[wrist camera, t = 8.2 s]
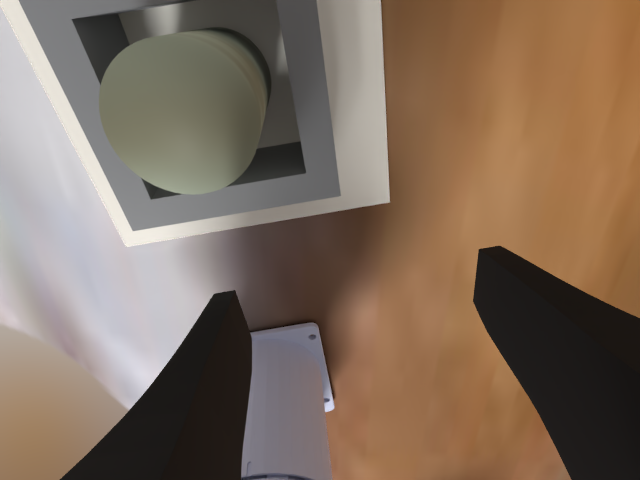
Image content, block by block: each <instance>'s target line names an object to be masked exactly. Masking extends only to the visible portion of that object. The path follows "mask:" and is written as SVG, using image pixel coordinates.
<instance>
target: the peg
mask: <svg viewBox="0 0 640 480" xmlns="http://www.w3.org/2000/svg"><path fill="white" fill-rule="evenodd" d="M270 94H271V75H270V70H269V67H268V64H267V62H266V60H265V58H264V56H263V54H262V53H261V51H260V50H259V49H258V47H257V46H256V45H255V44H254V43H253V42H252V41H251V40H250V39H248V38H247V37H246V36H244V35H242V34H241V33H239V32H237V31H234V30H232V29H228V28H223V27H210V28H204V29H198V30H192V31H186V32H180V33H174V34H167V35H161V36H156V37H150V38H145V39H143V40H140V41H137V42H135V43H133V44H131V45H130V46H128V47H126V48H125V49H124V50H122V51H121V52H120V53H119V54H118V55H117V56H116V57H115V58H114V59H113V60H112V62H111V63H110V65H109V66H108V68H107V70H106V72H105V74H104V76H103V79H102V82H101V86H100V91H99V113H100V118H101V123H102V126H103V129H104V132H105V134H106V136H107V139H108V141H109V143H110V144H111V146H112V148H113V149H114V151H115V152H116V154H117V155H118V156H119V158H120V159H121V160H122V161H123V162H124V163H125V164H126V165H127V166H128V168H130V169H131V170H132V171H133V172H134V173H135V174H137V175H138V176H139V177H141V178H142V179H144V180H145V181H147V182H149V183H151V184H153V185H154V186H157V187H159V188H162V189H164V190H167V191H171V192H175V193H180V194H191V195H194V194H205V193H210V192H214V191H217V190H220V189H222V188H224V187H226V186H228V185H229V184H231V183H233V182H234V181H235V180H236V179H238V178H239V177H240V176H241V175H242V174H243V173H244V172H245V170H246V169H247V168H248V166H249V165H250V163H251V162H252V159H253V157H254V155H255V153H256V149H257V146H258V142H259V138H260V134H261V130H262V126H263V122H264V119H265V115H266V111H267V107H268V103H269V99H270Z"/></svg>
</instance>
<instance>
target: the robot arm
mask: <svg viewBox="0 0 640 480" xmlns="http://www.w3.org/2000/svg"><path fill="white" fill-rule="evenodd" d="M473 302H474V304H475V306H476V309H477V311H478V313H479V315H480V318H481V320H482V322H483V324H484V326H485V328H486V330H487V332H488V334H489V335H490V337H491V338H492V340H493V342H494V343H495V345H496V346H497V348H498V350H499V351H500V353H501V354H502V356H503V357H504V359H505V361H506V362H507V364H508V365H509V367H510V368H511V370H512V371H513V373H514V375H515V376H516V378H517V379H518V381H519V382H520V384H521V386H522V387H523V389H524V390H525V392H526V393H527V395H528V396H529V398H530V400H531V401H532V403H533V405H534V407H535V408H536V410H537V412H538V413H539V415H540V417H541V419H542V421H543V423H544V425H545V427H546V429H547V431H548V433H549V435H550V437H551V439H552V441H553V443H554V445H555V446H556V448H557V450H558V453H559V455H560V457H561V459H562V461H563V463H564V465H565V467H566V469H567V471H568V473H569V475H570V477H571V479H572V480H640V318H638V317H636V316H633V315H631V314H629V313H626V312H624V311H622V310H620V309H618V308H615V307H613V306H611V305H609V304H607V303H605V302H603V301H601V300H599V299H597V298H595V297H593V296H591V295H589V294H587V293H585V292H583V291H581V290H579V289H577V288H575V287H574V286H572V285H570V284H568V283H566V282H564V281H562V280H561V279H559V278H557V277H555V276H553V275H552V274H550V273H548V272H546V271H544V270H543V269H541V268H539V267H537V266H536V265H534V264H532V263H530V262H529V261H527V260H525V259H523V258H522V257H520V256H518V255H516V254H514V253H513V252H511V251H509V250H507V249H505V248H503V247H501V246H495V247H489V248H483V249H479V253H478V262H477V271H476V280H475V289H474V298H473ZM311 334H314V335H311ZM333 409H334V401H333V396H332V391H331V386H330V381H329V376H328V371H327V367H326V362H325V357H324V352H323V347H322V342H321V338H320V333H319V328H318V325H317V324H316V323H304V324H298V325H292V326H287V327H281V328H275V329H269V330H263V331H257V332H251V333H250V331H249V328H248V326H247V323H246V320H245V317H244V314H243V311H242V309H241V306H240V303H239V300H238V297H237V294H236V292H235V290H234V291H228V292H222V293H216V294H214V295H213V297H212V298H211V299H210V301H209V303H208V304H207V306H206V307H205V309H204V310H203V312H202V313H201V315H200V317H199V318H198V320H197V321H196V323H195V324H194V326H193V327H192V329H191V330H190V332H189V333H188V335H187V336H186V338H185V339H184V341H183V342H182V344H181V345H180V347H179V348H178V349H177V351H176V352H175V354H174V355H173V357H172V358H171V359H170V361H169V362H168V363H167V365H166V366H165V367H164V369H163V370H162V371H161V373H160V374H159V375H158V377H157V378H156V379H155V380H154V382H153V383H152V384H151V386H150V387H149V388H148V389H147V390H146V392H145V393H144V394H143V395H142V396H141V398H140V399H139V400H138V401H137V402H136V403H135V405H134V406H133V407H132V408H131V409H130V410H129V411H128V413H127V414H126V415H125V416H124V417H123V418H122V419H121V420H120V421H119V422H118V423H117V424H116V425H115V426H114V427H113V428H112V429H111V431H110V432H109V433H108V434H107V435H106V436H105V437H104V438H103V439H102V440H101V441H100V442H99V443H98V444H97V445H96V446H95V447H94V448H93V449H92V450H91V451H90V452H89V453H88V454H87V455H86V456H85V457H84V458H83V459H82V460H81V461H79V462H78V463H77V464H76V465H75V466H74V467H73V468H72V469H71V470H70V471H69V472H68V473H67V474H65V475H64V476H63V477H62V478H61V479H60V480H332V471H331V462H330V453H329V444H328V434H327V425H326V416H325V412H328V411H331V410H333Z"/></svg>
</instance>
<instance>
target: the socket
mask: <svg viewBox="0 0 640 480" xmlns="http://www.w3.org/2000/svg"><path fill="white" fill-rule="evenodd" d="M0 6H1V8H2V10H3V12H4V14H5V16H6V18H7V20H8V21H9V23H10V25H11V27H12V29H13V31H14V33H15V35H16V37H17V39H18V41H19V43H20V45H21V46H22V48H23V50H24V52H25V54H26V56H27V58H28V60H29V62H30V64H31V66H32V68H33V69H34V71H35V73H36V75H37V77H38V79H39V81H40V83H41V85H42V87H43V89H44V91H45V92H46V94H47V96H48V98H49V100H50V102H51V104H52V106H53V108H54V110H55V112H56V114H57V115H58V117H59V119H60V121H61V123H62V125H63V127H64V129H65V131H66V133H67V135H68V137H69V139H70V140H71V142H72V144H73V146H74V148H75V150H76V152H77V154H78V156H79V158H80V160H81V162H82V163H83V165H84V167H85V169H86V171H87V173H88V175H89V177H90V179H91V181H92V183H93V185H94V186H95V188H96V190H97V192H98V194H99V196H100V198H101V200H102V202H103V204H104V206H105V208H106V209H107V211H108V213H109V215H110V217H111V219H112V221H113V223H114V225H115V227H116V229H117V231H118V233H119V234H120V236H121V238H122V240H123V242H124V244H125V246H126V247H129V246H135V245H141V244H147V243H153V242H158V241H164V240H170V239H176V238H182V237H188V236H194V235H200V234H206V233H212V232H218V231H223V230H229V229H235V228H241V227H247V226H253V225H259V224H265V223H271V222H277V221H283V220H289V219H294V218H300V217H306V216H312V215H318V214H324V213H330V212H336V211H342V210H348V209H354V208H359V207H365V206H371V205H377V204H383V203H389V202H390V194H389V172H388V149H387V127H386V104H385V82H384V59H383V37H382V15H381V0H0ZM210 27H223V28H228V29H232V30H234V31H237V32H239V33H241V34H242V35H244V36H246V37H247V38H248V39H250V40H251V41H252V42H253V43H254V44H255V45H256V46H257V47H258V49H259V50H260V51H261V53H262V54H263V56H264V58H265V60H266V62H267V64H268V67H269V70H270V75H271V94H270V99H269V103H268V107H267V111H266V115H265V119H264V122H263V126H262V130H261V134H260V138H259V142H258V146H257V149H256V153H255V155H254V157H253V159H252V162H251V163H250V165H249V166H248V168H247V169H246V170H245V172H244V173H243V174H242V175H241V176H240V177H239V178H238V179H236V180H235V181H234V182H233V183H231V184H229V185H228V186H226V187H224V188H222V189H220V190H217V191H214V192H210V193H205V194H194V195H191V194H180V193H175V192H171V191H167V190H164V189H162V188H159V187H157V186H154V185H153V184H151V183H149V182H147V181H145V180H144V179H142V178H141V177H139V176H138V175H137V174H135V173H134V172H133V171H132V170H131V169H130V168H128V166H127V165H126V164H125V163H124V162H123V161H122V160H121V159H120V158H119V156H118V155H117V154H116V152H115V151H114V149H113V148H112V146H111V144H110V143H109V141H108V139H107V136H106V134H105V132H104V129H103V126H102V123H101V118H100V113H99V91H100V86H101V82H102V79H103V76H104V74H105V72H106V70H107V68H108V66H109V65H110V63H111V62H112V60H113V59H114V58H115V57H116V56H117V55H118V54H119V53H120V52H121V51H122V50H124V49H125V48H126V47H128V46H130V45H131V44H133V43H135V42H137V41H140V40H143V39H145V38H150V37H156V36H161V35H167V34H174V33H180V32H186V31H192V30H198V29H204V28H210Z"/></svg>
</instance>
